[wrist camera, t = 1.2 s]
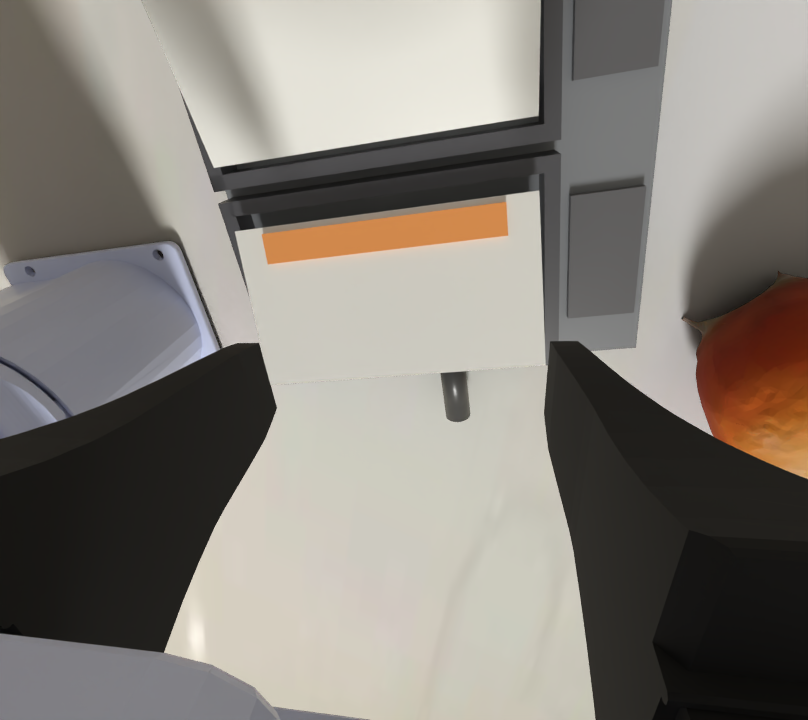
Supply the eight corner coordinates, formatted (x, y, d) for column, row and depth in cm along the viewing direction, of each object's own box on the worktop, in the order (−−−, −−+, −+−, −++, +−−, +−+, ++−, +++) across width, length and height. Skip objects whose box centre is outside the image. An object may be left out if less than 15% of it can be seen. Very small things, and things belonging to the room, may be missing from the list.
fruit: (814, 186, 16) (1071, 354, 12) (827, 276, 22) (1006, 415, 17) (616, 328, 20) (752, 501, 15) (669, 375, 25) (781, 514, 21)
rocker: (283, 372, 19) (267, 386, 17) (252, 229, 17) (232, 231, 15) (540, 353, 17) (546, 367, 15) (533, 191, 15) (539, 190, 14)
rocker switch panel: (322, 407, 26) (299, 458, 22) (70, -466, 12) (-98, -703, 8) (608, 389, 23) (636, 444, 19) (695, -738, 10) (836, -1243, 6)
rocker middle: (229, 153, 16) (212, 170, 15) (140, -69, 12) (107, -70, 11) (532, 102, 14) (539, 117, 13) (534, -173, 10) (545, -186, 9)
